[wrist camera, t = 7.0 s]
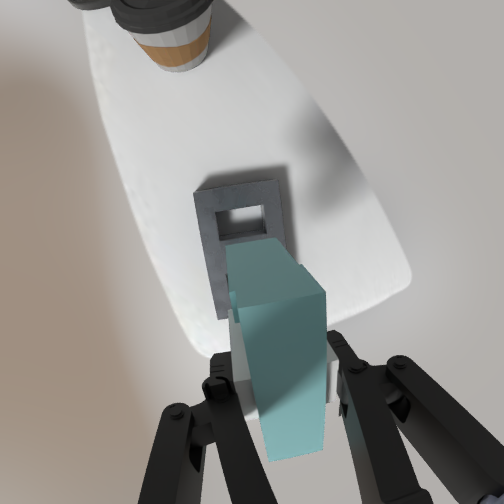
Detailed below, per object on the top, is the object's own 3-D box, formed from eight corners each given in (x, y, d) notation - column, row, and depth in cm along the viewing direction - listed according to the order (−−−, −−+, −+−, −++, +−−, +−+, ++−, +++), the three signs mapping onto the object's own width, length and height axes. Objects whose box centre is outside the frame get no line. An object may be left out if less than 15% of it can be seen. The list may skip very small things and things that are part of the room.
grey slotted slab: (195, 191, 31) (193, 193, 28) (273, 179, 31) (278, 179, 29) (217, 310, 35) (217, 319, 33) (287, 298, 36) (291, 306, 33)
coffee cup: (224, 30, 25) (230, -46, 11) (204, 87, 27) (194, 25, 13) (160, 22, 24) (131, -48, 10) (138, 77, 26) (86, 23, 12)
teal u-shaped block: (223, 235, 19) (228, 310, 9) (274, 227, 20) (333, 290, 9) (245, 352, 22) (263, 462, 12) (287, 344, 23) (327, 448, 12)
